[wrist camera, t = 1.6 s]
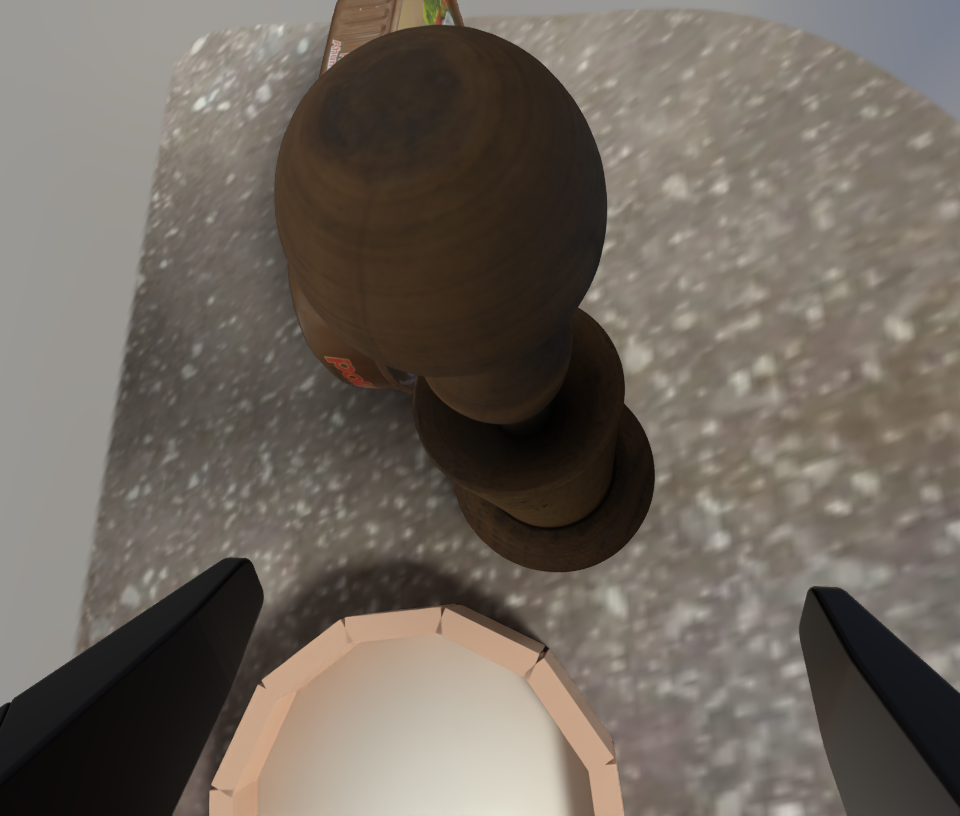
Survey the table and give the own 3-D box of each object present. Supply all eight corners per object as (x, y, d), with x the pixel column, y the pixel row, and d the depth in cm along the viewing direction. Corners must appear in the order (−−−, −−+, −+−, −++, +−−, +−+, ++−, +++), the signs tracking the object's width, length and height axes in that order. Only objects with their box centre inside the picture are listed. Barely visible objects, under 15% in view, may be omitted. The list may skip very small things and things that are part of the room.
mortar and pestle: (447, 549, 21) (-133, 460, 4) (484, 380, 23) (157, -186, 6) (635, 590, 20) (887, 703, 3) (662, 407, 21) (932, -257, 4)
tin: (441, 420, 23) (358, 338, 15) (364, 414, 23) (246, 332, 15) (488, 95, 26) (442, -111, 18) (421, 97, 27) (348, -100, 19)
